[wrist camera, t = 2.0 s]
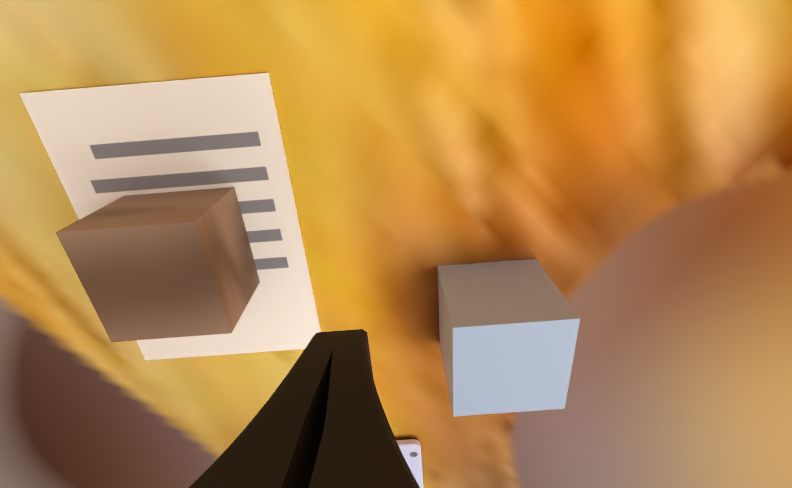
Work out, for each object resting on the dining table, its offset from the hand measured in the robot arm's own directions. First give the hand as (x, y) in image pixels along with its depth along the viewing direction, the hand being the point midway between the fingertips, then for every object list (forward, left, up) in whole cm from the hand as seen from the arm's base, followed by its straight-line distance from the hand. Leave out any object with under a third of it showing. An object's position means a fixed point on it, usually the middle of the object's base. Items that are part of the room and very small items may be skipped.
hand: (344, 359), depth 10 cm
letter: (0, +8, -9) cm, 12 cm away
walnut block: (0, +8, -9) cm, 12 cm away
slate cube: (-5, -6, -9) cm, 12 cm away
